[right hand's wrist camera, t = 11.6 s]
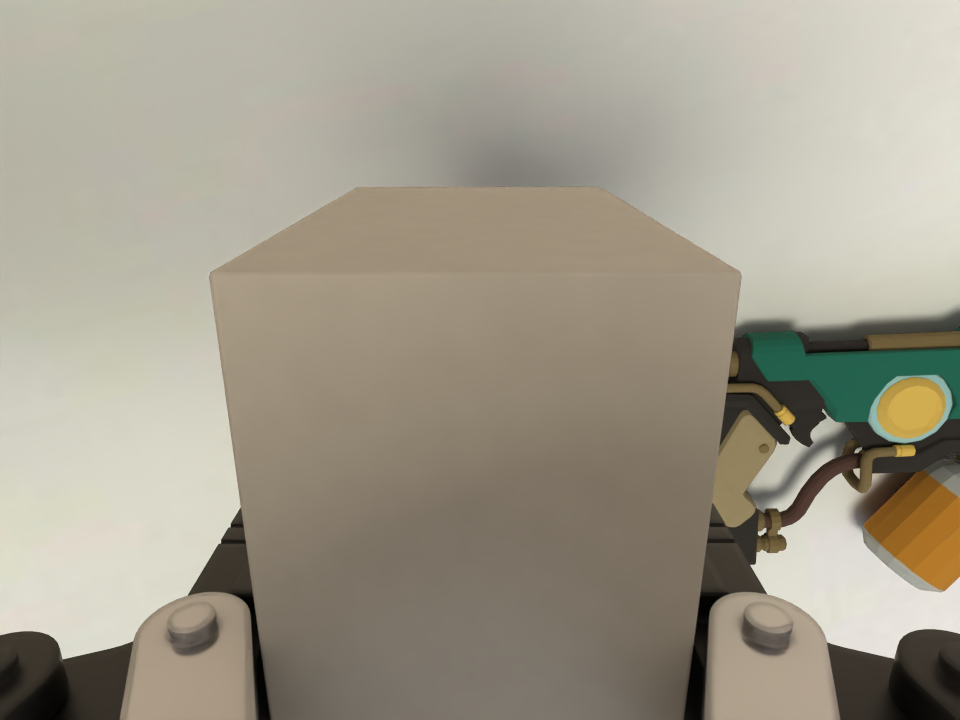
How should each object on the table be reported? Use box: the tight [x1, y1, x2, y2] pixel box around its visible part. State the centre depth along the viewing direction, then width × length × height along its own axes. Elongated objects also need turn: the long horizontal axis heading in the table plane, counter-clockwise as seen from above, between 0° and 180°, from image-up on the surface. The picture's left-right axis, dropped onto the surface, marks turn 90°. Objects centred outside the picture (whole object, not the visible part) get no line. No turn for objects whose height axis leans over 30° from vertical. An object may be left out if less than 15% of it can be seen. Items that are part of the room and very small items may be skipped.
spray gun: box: [712, 327, 960, 592], centre depth 31 cm, size 4×17×15 cm
